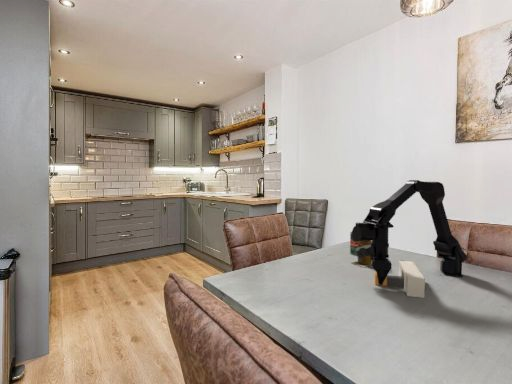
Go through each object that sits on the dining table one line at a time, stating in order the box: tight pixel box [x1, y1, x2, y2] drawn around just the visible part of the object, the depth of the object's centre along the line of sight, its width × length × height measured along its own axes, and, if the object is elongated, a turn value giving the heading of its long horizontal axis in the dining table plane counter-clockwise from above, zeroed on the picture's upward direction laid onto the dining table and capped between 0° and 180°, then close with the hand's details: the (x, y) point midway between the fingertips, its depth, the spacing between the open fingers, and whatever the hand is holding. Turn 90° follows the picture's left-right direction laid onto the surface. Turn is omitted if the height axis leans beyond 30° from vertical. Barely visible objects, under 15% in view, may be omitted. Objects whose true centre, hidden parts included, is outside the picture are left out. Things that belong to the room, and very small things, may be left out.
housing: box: [398, 260, 426, 299], centre depth 106 cm, size 5×20×6 cm, turn 161°
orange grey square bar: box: [374, 270, 404, 288], centre depth 108 cm, size 15×4×4 cm, turn 71°
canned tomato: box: [349, 231, 359, 256], centre depth 151 cm, size 8×8×11 cm
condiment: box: [351, 240, 372, 268], centre depth 134 cm, size 7×8×12 cm
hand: (379, 280), depth 110 cm, fingers open, 9 cm apart
